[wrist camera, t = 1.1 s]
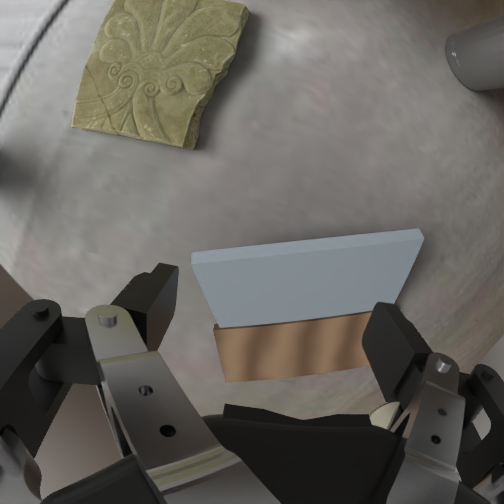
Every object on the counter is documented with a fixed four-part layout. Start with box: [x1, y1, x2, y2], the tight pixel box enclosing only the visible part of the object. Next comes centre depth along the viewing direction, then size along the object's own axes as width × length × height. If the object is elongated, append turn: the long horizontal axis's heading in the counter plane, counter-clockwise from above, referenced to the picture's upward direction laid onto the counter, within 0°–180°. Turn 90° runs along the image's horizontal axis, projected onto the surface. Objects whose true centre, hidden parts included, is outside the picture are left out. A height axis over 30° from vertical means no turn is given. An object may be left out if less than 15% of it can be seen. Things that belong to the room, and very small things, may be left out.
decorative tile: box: [71, 0, 250, 150], centre depth 29 cm, size 19×20×4 cm
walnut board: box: [213, 310, 373, 382], centre depth 41 cm, size 26×11×2 cm, turn 97°
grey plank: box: [191, 229, 424, 328], centre depth 34 cm, size 24×14×2 cm, turn 97°
